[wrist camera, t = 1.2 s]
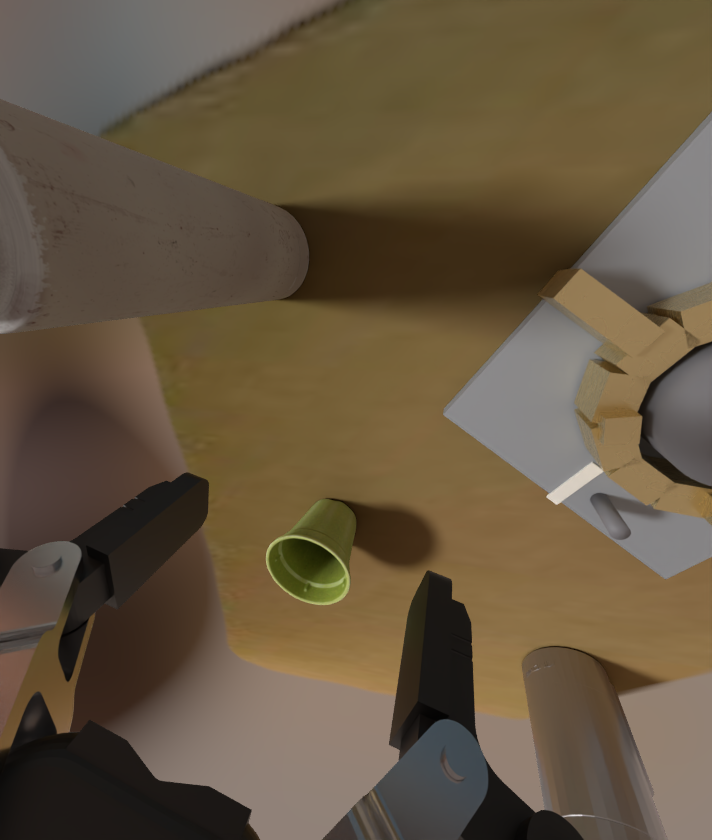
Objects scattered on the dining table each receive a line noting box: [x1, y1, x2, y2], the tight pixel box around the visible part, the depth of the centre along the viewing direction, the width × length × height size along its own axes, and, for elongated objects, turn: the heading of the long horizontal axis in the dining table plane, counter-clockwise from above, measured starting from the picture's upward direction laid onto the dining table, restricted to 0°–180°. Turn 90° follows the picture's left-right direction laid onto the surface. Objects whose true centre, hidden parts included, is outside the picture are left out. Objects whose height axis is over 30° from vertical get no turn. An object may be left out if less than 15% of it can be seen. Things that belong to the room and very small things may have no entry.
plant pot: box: [266, 499, 356, 605], centre depth 38 cm, size 9×9×9 cm
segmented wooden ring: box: [537, 268, 712, 526], centre depth 22 cm, size 22×16×5 cm
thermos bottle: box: [0, 99, 309, 334], centre depth 19 cm, size 8×8×28 cm
